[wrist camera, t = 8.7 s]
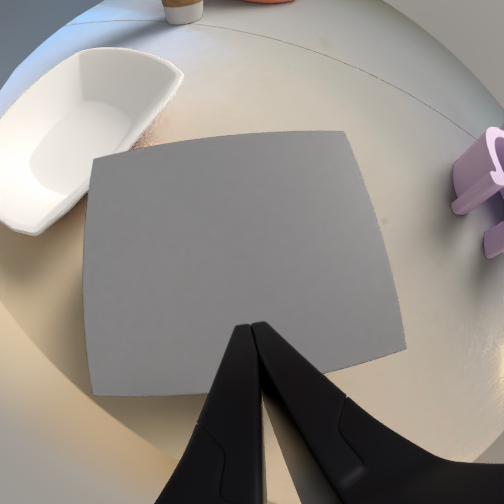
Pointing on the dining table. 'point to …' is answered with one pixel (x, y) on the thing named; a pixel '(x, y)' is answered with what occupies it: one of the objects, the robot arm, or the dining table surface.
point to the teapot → (269, 1)
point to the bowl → (76, 129)
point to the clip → (482, 182)
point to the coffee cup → (182, 11)
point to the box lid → (231, 259)
